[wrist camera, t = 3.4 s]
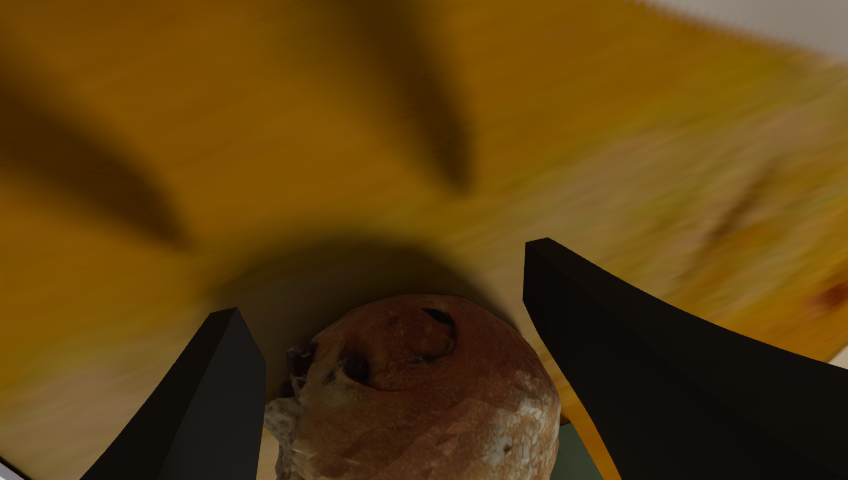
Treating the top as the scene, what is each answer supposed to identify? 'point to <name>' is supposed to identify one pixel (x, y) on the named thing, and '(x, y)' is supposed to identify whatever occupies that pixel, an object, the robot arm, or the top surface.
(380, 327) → the bread roll
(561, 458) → the teal shallow tray
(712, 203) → the top surface
